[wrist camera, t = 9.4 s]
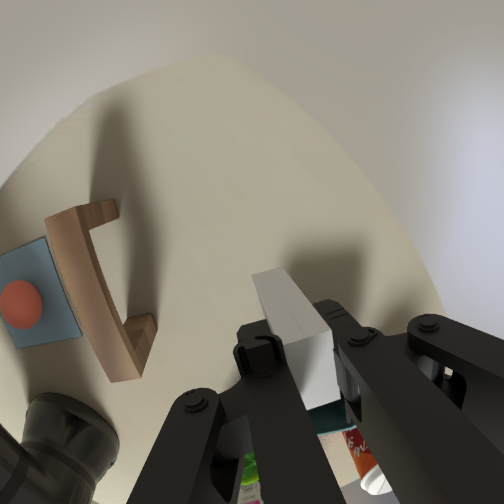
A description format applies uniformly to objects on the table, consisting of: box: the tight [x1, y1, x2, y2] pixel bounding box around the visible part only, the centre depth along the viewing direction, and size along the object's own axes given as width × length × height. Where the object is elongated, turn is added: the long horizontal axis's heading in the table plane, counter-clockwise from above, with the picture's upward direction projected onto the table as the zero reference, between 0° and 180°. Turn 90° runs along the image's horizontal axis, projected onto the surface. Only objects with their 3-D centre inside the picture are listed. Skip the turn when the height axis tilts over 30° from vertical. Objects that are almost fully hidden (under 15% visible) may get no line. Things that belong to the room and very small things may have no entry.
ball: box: [0, 280, 42, 329], centre depth 26 cm, size 6×6×6 cm
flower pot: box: [307, 388, 356, 436], centre depth 30 cm, size 9×9×9 cm
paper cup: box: [342, 427, 392, 495], centre depth 31 cm, size 8×8×14 cm
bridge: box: [44, 199, 158, 383], centre depth 25 cm, size 3×14×9 cm, turn 14°
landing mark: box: [0, 237, 82, 349], centre depth 29 cm, size 12×12×1 cm
